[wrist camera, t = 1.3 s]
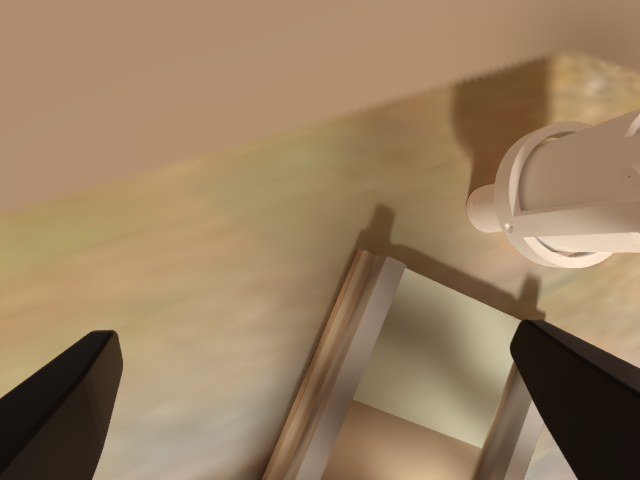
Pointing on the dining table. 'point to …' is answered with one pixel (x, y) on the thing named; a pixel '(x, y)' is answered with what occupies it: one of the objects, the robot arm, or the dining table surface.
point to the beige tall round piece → (567, 193)
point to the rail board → (408, 387)
